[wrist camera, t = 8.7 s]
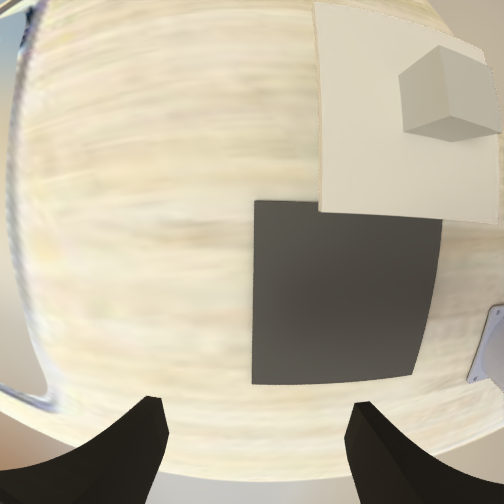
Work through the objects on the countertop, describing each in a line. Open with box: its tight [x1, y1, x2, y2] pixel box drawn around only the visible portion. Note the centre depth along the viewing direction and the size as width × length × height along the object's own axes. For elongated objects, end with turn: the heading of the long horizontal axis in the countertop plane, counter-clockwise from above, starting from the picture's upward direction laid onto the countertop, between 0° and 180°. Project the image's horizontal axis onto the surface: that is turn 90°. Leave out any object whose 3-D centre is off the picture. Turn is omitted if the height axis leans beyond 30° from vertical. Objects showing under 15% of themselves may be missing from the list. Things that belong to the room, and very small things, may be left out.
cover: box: [312, 1, 502, 225], centre depth 9 cm, size 11×11×5 cm
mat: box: [252, 201, 442, 385], centre depth 19 cm, size 13×13×1 cm
